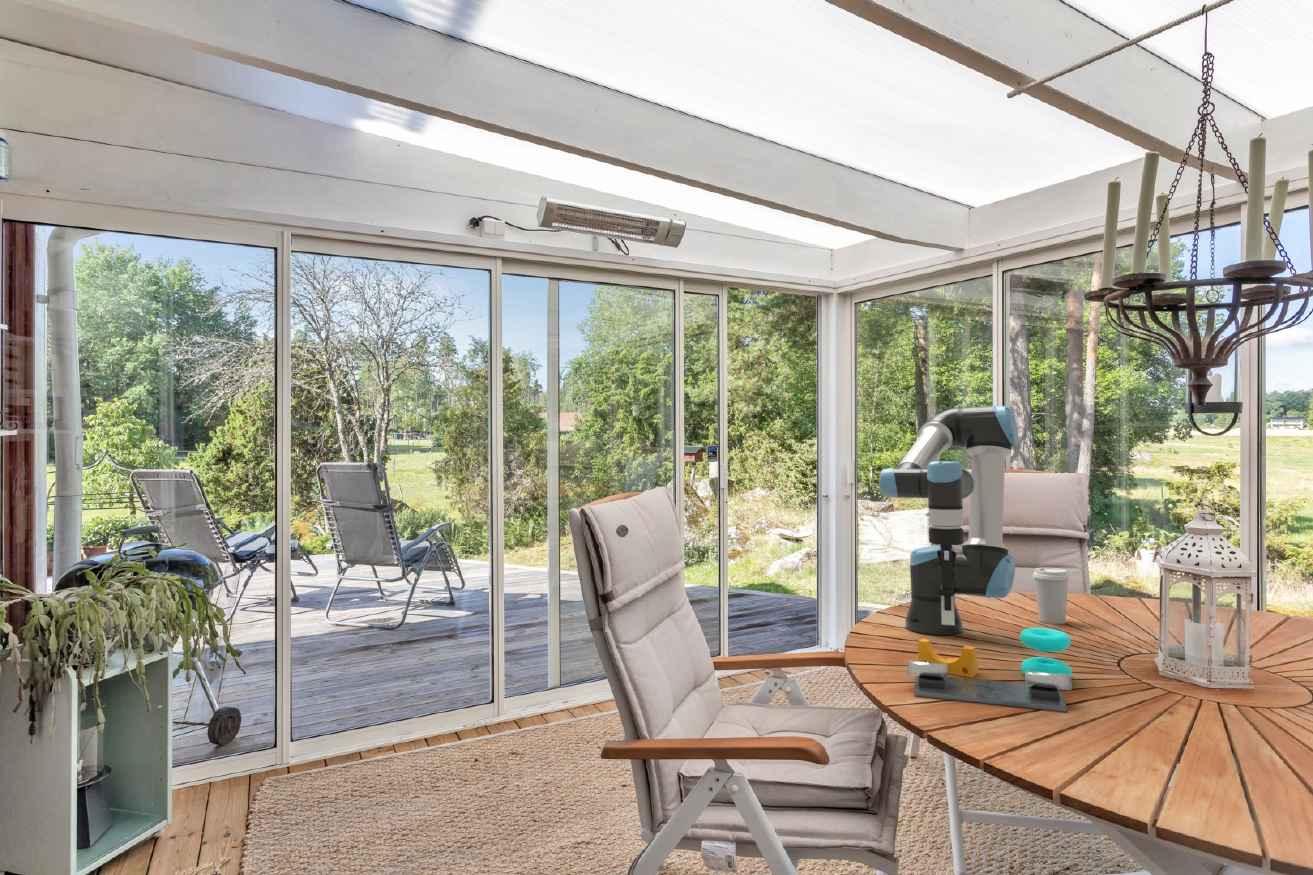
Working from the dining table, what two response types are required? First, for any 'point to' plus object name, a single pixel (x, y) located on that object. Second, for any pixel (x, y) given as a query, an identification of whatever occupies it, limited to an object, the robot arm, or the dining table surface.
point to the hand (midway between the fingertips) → (948, 617)
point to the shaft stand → (991, 688)
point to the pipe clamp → (950, 659)
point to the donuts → (1045, 642)
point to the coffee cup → (1051, 594)
